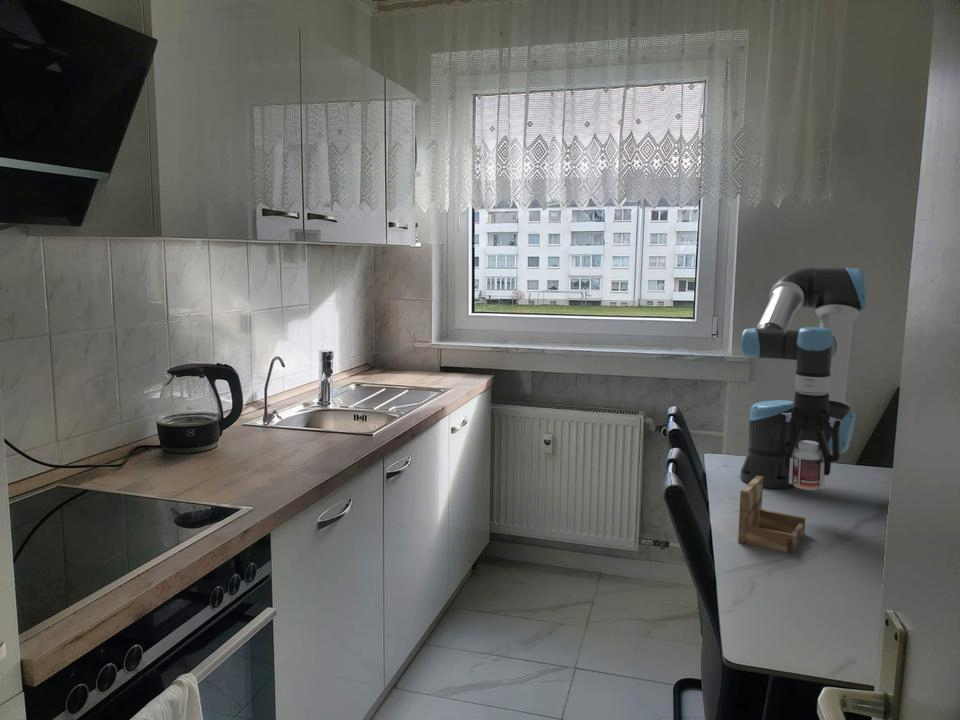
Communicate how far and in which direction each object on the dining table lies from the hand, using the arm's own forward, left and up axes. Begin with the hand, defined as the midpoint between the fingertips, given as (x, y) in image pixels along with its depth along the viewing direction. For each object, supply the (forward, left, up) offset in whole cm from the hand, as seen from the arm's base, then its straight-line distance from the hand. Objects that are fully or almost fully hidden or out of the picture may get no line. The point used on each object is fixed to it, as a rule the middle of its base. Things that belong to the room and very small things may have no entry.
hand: (806, 484), depth 176 cm
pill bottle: (0, 0, -1) cm, 1 cm away
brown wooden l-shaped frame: (+18, -4, -9) cm, 20 cm away
